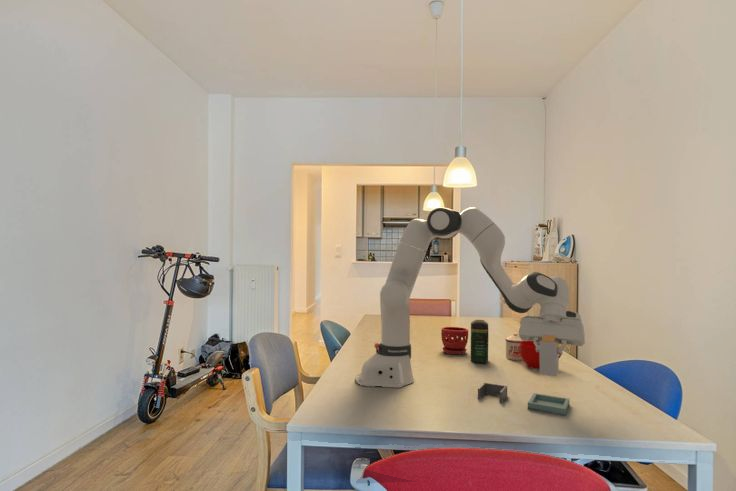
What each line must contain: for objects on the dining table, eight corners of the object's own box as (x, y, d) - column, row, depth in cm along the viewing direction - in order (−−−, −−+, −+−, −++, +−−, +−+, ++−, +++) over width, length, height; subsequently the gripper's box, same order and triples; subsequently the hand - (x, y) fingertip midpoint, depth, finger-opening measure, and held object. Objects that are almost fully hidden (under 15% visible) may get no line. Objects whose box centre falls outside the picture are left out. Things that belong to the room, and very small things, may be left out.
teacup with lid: (506, 360, 202) (506, 334, 202) (504, 355, 211) (504, 331, 211) (534, 361, 200) (534, 335, 200) (530, 356, 208) (530, 332, 209)
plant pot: (470, 355, 210) (471, 330, 210) (443, 355, 210) (443, 330, 210) (465, 349, 223) (465, 326, 223) (439, 349, 223) (439, 325, 223)
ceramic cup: (557, 374, 179) (557, 349, 179) (515, 367, 189) (515, 344, 189) (564, 367, 189) (564, 344, 189) (525, 361, 200) (525, 339, 200)
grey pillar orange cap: (539, 374, 140) (539, 336, 141) (542, 370, 145) (542, 334, 145) (556, 376, 138) (556, 338, 138) (558, 372, 142) (558, 335, 142)
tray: (527, 409, 139) (527, 402, 139) (534, 399, 149) (534, 392, 149) (565, 416, 134) (565, 409, 134) (569, 405, 143) (569, 398, 143)
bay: (477, 398, 149) (477, 388, 149) (484, 392, 156) (484, 382, 156) (501, 403, 145) (501, 392, 145) (507, 396, 152) (507, 386, 152)
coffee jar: (488, 364, 194) (488, 322, 194) (470, 363, 196) (470, 321, 196) (488, 359, 204) (488, 319, 204) (470, 357, 206) (470, 318, 206)
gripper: (520, 310, 153) (513, 343, 144) (585, 314, 142) (582, 350, 134) (522, 321, 157) (516, 354, 148) (586, 326, 146) (584, 361, 138)
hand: (548, 352), depth 141 cm, fingers closed on grey pillar orange cap, 5 cm apart
